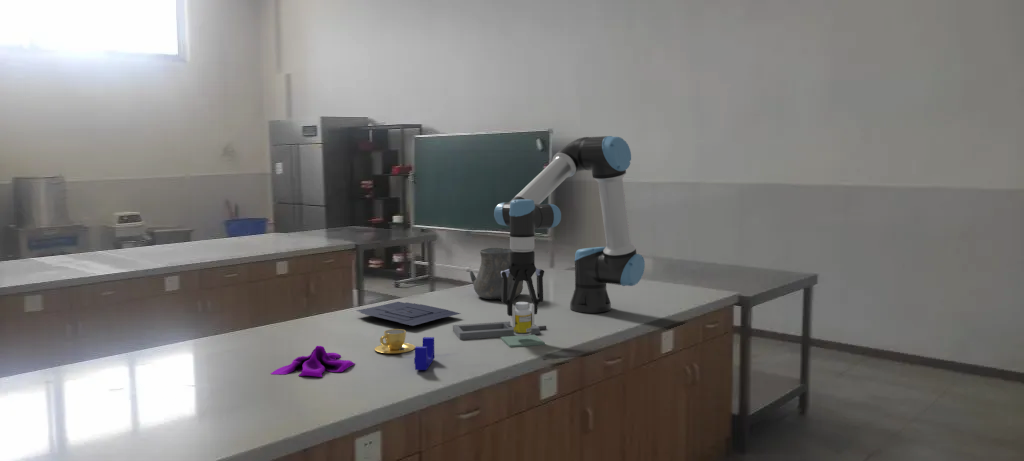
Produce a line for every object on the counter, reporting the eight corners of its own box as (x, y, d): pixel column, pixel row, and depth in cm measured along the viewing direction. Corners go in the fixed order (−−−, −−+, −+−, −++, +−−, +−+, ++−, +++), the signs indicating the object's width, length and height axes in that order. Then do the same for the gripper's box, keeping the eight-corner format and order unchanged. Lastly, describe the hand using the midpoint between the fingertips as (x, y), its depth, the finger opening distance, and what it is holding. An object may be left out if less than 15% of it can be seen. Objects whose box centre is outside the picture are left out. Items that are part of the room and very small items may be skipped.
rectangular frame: (540, 325, 250) (540, 317, 250) (551, 333, 239) (551, 325, 238) (452, 331, 242) (452, 323, 242) (459, 339, 231) (459, 331, 231)
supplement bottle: (512, 332, 230) (512, 301, 229) (530, 332, 230) (530, 301, 230) (514, 336, 225) (514, 304, 224) (532, 336, 225) (532, 304, 224)
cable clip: (418, 357, 211) (418, 337, 210) (434, 358, 210) (434, 337, 210) (409, 369, 199) (409, 347, 198) (426, 370, 198) (425, 348, 198)
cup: (400, 342, 229) (400, 325, 228) (423, 349, 220) (423, 331, 219) (366, 349, 221) (366, 331, 220) (389, 357, 212) (388, 338, 211)
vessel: (538, 299, 296) (538, 250, 294) (492, 306, 284) (491, 254, 282) (508, 292, 314) (508, 245, 312) (463, 297, 302) (462, 248, 300)
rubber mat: (534, 336, 234) (534, 334, 234) (544, 344, 224) (544, 342, 224) (500, 338, 232) (500, 336, 232) (509, 347, 221) (509, 345, 221)
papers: (401, 308, 279) (401, 298, 278) (461, 321, 260) (461, 310, 260) (351, 319, 259) (351, 309, 259) (412, 334, 241) (412, 323, 241)
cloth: (330, 354, 216) (330, 333, 216) (368, 366, 204) (367, 344, 203) (259, 370, 200) (258, 347, 200) (295, 384, 188) (294, 360, 187)
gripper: (547, 247, 231) (547, 321, 233) (489, 249, 226) (490, 324, 229) (554, 250, 224) (554, 326, 226) (495, 252, 219) (496, 330, 221)
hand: (522, 325), depth 227 cm, fingers closed on supplement bottle, 5 cm apart
